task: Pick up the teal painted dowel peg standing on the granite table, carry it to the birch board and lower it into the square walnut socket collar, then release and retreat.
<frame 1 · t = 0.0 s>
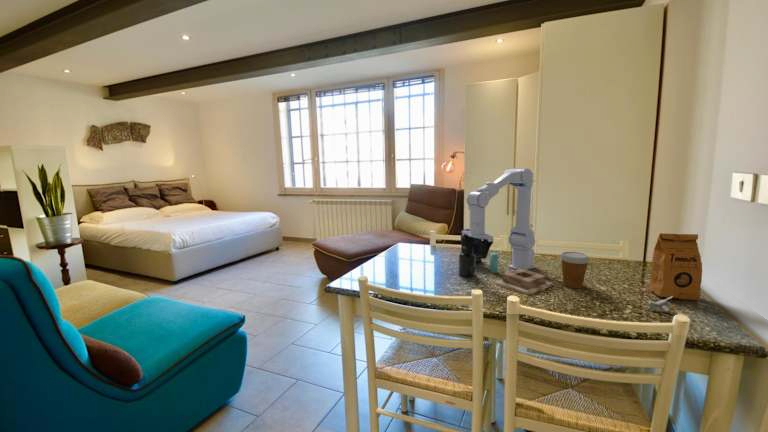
hand: (476, 256, 135), 10 cm above the table, tool pointing down, fingers open, 7 cm apart
dog figurine: (659, 311, 106), on the table
socket board: (523, 284, 130), on the table
disposable coffee cup: (572, 285, 128), on the table
supplement bottle: (466, 275, 143), on the table
coffee package: (673, 296, 116), on the table
storage jar: (471, 262, 161), on the table
peg: (493, 271, 146), on the table
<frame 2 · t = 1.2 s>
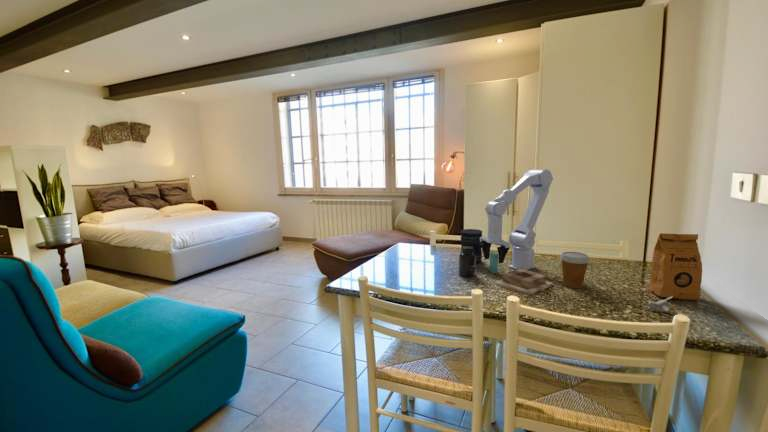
hand: (493, 260, 145), 5 cm above the table, tool pointing down, fingers open, 7 cm apart
nothing on the table moved.
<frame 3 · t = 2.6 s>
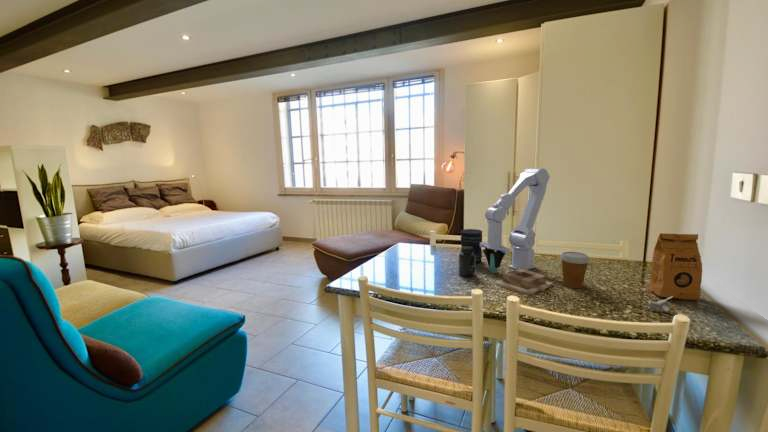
hand: (493, 266, 146), 2 cm above the table, tool pointing down, fingers closed on peg, 3 cm apart
peg: (493, 271, 146), on the table, touching gripper
everything else where it was.
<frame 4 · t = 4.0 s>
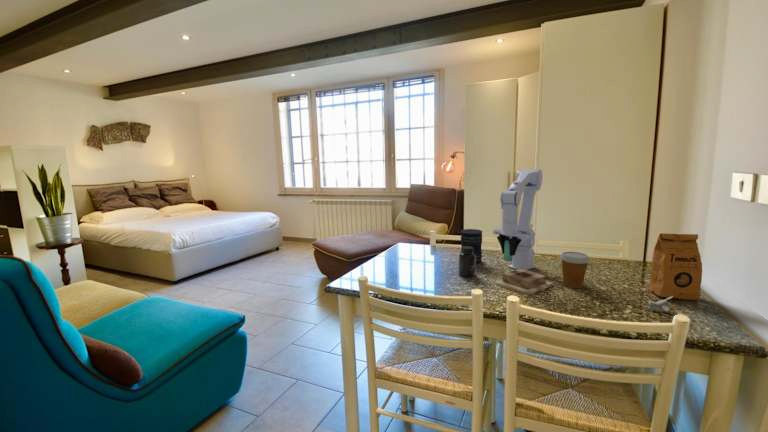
hand: (508, 254, 137), 10 cm above the table, tool pointing down, fingers closed on peg, 3 cm apart
peg: (508, 260, 137), point 7 cm above the table, touching gripper
everything else where it was.
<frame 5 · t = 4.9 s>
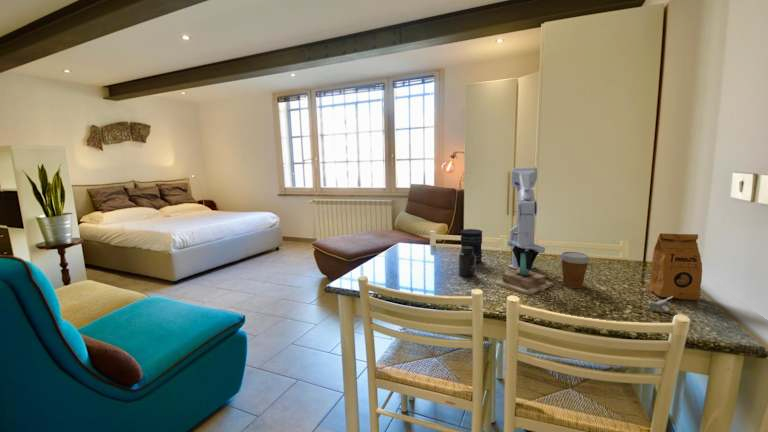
hand: (524, 267, 129), 7 cm above the table, tool pointing down, fingers closed on peg, 3 cm apart
peg: (524, 273, 130), point 4 cm above the table, touching gripper
everything else where it was.
when the fingers open (5 cm above the table, at t = 5.7 s): peg drops 1 cm, resting on socket board.
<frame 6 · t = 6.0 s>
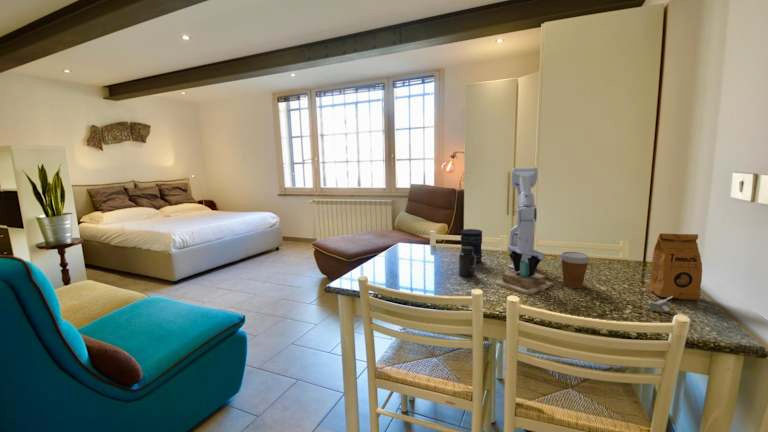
hand: (524, 273, 130), 5 cm above the table, tool pointing down, fingers open, 6 cm apart
peg: (523, 282, 130), point 1 cm above the table, touching socket board
everything else where it was.
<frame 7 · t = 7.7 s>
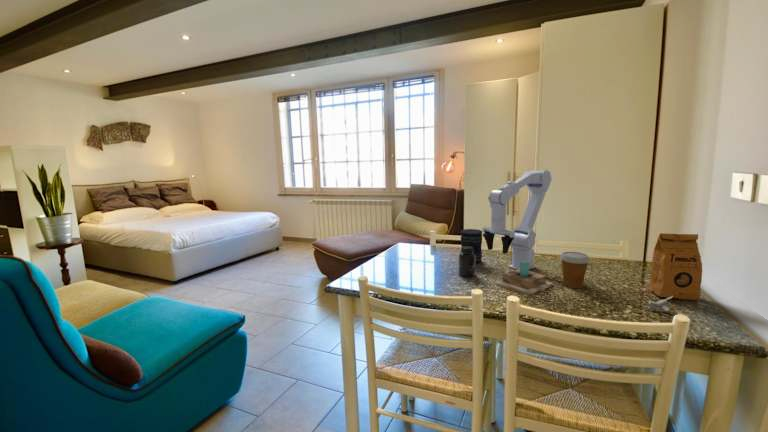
hand: (497, 251, 142), 10 cm above the table, tool pointing down, fingers open, 7 cm apart
nothing on the table moved.
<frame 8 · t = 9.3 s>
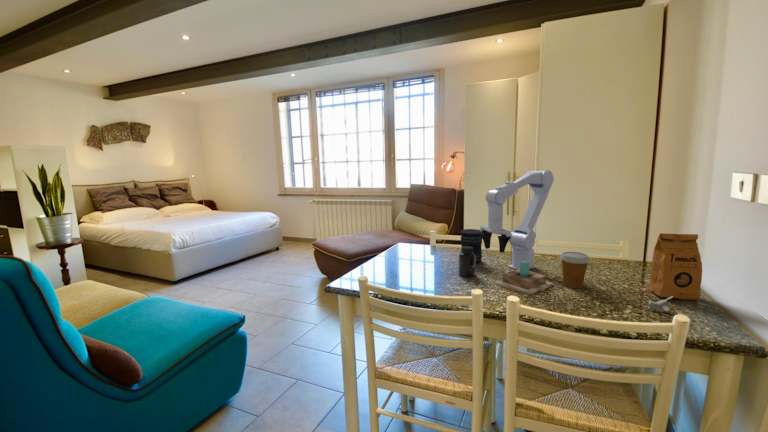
hand: (494, 250, 143), 10 cm above the table, tool pointing down, fingers open, 7 cm apart
nothing on the table moved.
at the end: peg 0.1 cm off-centre on the socket board, point 1.0 cm above the socket board's base; the gripper is holding nothing; peg tilted 1° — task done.
